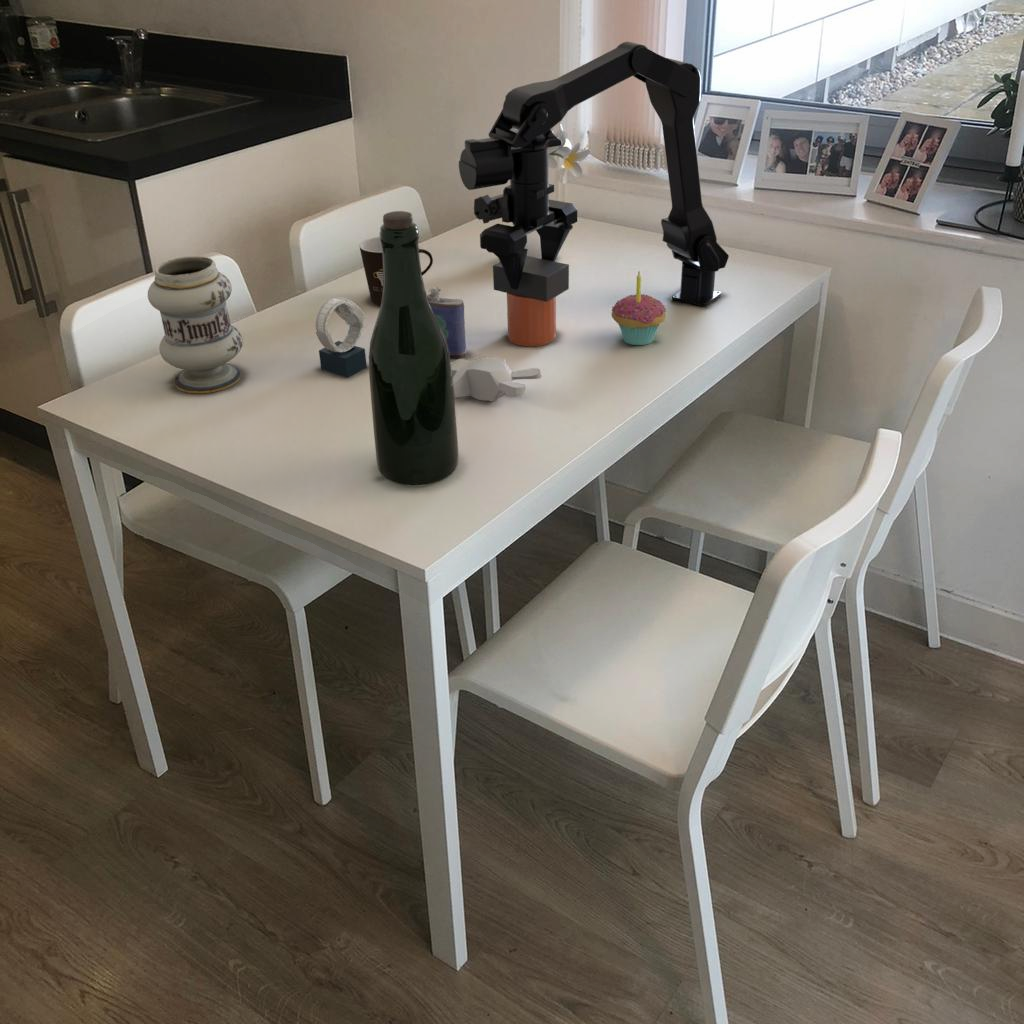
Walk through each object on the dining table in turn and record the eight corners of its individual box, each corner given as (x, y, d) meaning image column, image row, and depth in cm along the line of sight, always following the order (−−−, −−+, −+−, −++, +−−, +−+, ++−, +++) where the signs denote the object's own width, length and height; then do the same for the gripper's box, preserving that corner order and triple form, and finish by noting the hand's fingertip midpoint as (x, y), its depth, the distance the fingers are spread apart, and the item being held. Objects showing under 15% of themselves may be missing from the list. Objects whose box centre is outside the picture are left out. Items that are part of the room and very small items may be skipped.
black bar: (516, 277, 174) (515, 253, 172) (568, 289, 169) (569, 264, 167) (493, 289, 169) (492, 265, 167) (546, 301, 164) (546, 276, 162)
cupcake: (661, 351, 167) (666, 277, 161) (607, 348, 169) (609, 275, 162) (666, 330, 174) (670, 258, 168) (614, 327, 176) (616, 256, 169)
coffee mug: (355, 305, 187) (350, 249, 181) (379, 288, 193) (374, 234, 188) (415, 313, 183) (411, 256, 177) (437, 296, 190) (434, 240, 184)
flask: (469, 353, 168) (465, 288, 163) (461, 361, 166) (457, 294, 160) (416, 346, 171) (410, 281, 166) (407, 353, 169) (402, 288, 163)
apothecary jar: (161, 371, 165) (136, 258, 156) (239, 357, 169) (220, 245, 159) (173, 403, 156) (147, 284, 146) (255, 387, 160) (236, 270, 150)
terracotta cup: (525, 324, 178) (524, 277, 174) (564, 333, 174) (564, 286, 170) (498, 340, 172) (497, 292, 168) (538, 350, 169) (538, 302, 164)
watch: (375, 362, 166) (368, 295, 160) (339, 381, 161) (330, 312, 155) (348, 354, 169) (341, 288, 163) (312, 373, 164) (303, 304, 158)
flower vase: (566, 277, 196) (567, 136, 182) (482, 261, 204) (477, 125, 191) (600, 256, 205) (603, 120, 192) (518, 241, 213) (516, 110, 200)
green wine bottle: (396, 444, 144) (372, 197, 126) (470, 453, 141) (456, 203, 123) (364, 483, 135) (335, 224, 118) (443, 493, 133) (424, 231, 115)
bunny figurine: (453, 348, 160) (544, 353, 154) (459, 379, 163) (548, 386, 156) (422, 373, 153) (516, 379, 146) (428, 405, 156) (520, 413, 149)
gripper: (519, 158, 170) (521, 254, 178) (448, 187, 157) (453, 288, 166) (579, 167, 165) (578, 265, 173) (511, 198, 152) (513, 302, 160)
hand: (530, 279), depth 168 cm, fingers open, 9 cm apart
